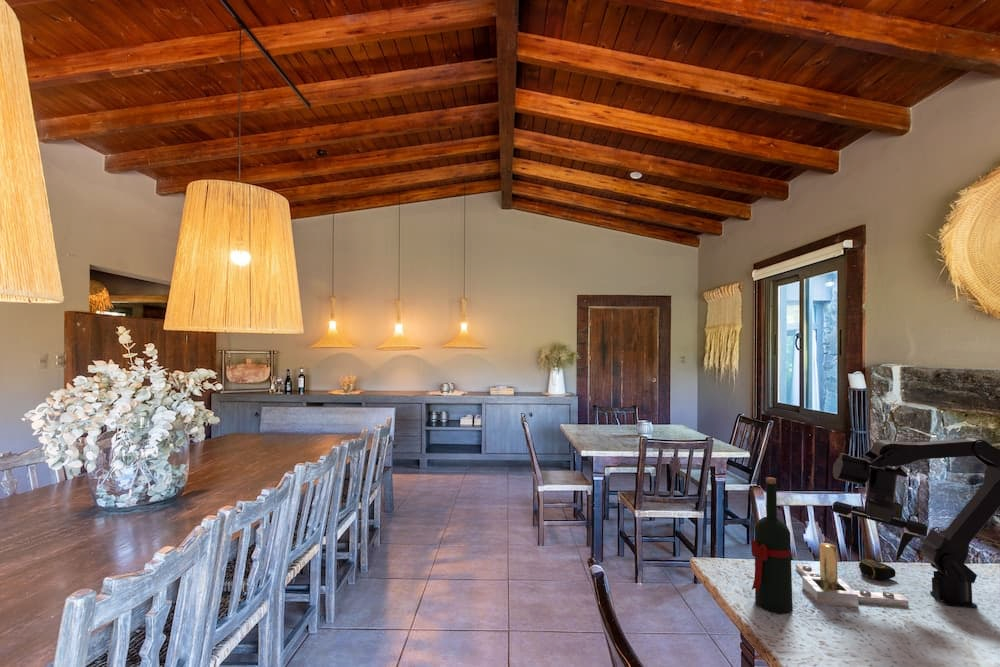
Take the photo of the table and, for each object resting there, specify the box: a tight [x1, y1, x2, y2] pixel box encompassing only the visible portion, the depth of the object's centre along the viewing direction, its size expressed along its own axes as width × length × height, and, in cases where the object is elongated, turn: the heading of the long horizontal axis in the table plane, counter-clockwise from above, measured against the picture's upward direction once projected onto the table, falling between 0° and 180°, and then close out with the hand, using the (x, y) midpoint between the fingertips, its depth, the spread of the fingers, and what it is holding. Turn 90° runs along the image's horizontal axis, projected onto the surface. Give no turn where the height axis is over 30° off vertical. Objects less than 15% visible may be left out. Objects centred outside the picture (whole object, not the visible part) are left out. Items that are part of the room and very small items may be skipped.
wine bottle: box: [750, 476, 794, 615], centre depth 119 cm, size 8×10×30 cm
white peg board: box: [795, 563, 910, 609], centre depth 128 cm, size 21×21×3 cm
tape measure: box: [858, 558, 896, 581], centre depth 135 cm, size 7×7×4 cm
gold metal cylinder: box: [819, 542, 839, 590], centre depth 123 cm, size 4×4×12 cm
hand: (873, 553), depth 124 cm, fingers open, 9 cm apart
